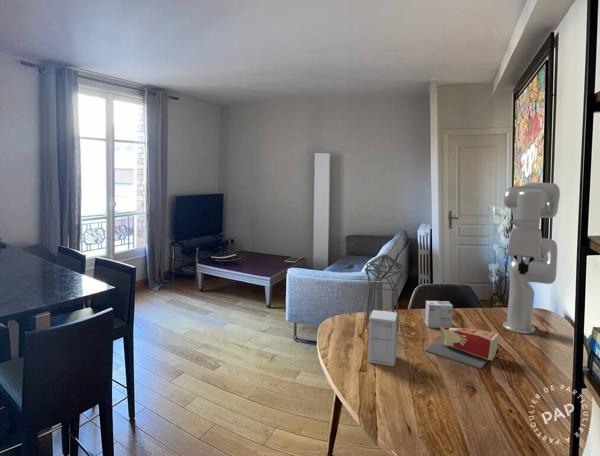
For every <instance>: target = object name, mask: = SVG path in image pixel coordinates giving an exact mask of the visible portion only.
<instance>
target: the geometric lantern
mask: <svg viewBox="0 0 600 456" xmlns="http://www.w3.org/2000/svg"><path fill="white" fill-rule="evenodd" d="M379 261H380V263H379V264H377V263H378V262H379ZM386 263H387V265H386ZM365 265H366V267H365V268H364V271H365V274H366V276H367V280H368V281H367V282H368V285H369V287H368V295H367V306H366V307H367V308H366V317H365V326H364V327H365V329H366V330H367V331H368V332H369V327H368V326H369V318H370V316H371V313H372V311H373V310H375V300H376V299H375V297H376V296H375V295H376V290H385V291H391V312H395V311H396V313H398V315H397V333H398V332H399V328H400V327H399V326H400V325H399V322H400V321H399V299H398V298H399V297H398V293H399V292H398V290H399V283H400V281H401V278H402V279H403V273H405V270H404V269H403V265H402V264H401V263H399V262H398V261H397V260H395V259H394V258H393V257H390V256H389V255H388V254H386V253H383V254H380V255H379V256H377V257H375V258H374V259H372V260H370V261H369V262H367V263H366V264H365ZM377 266H378V267H377ZM391 267H392V268H391ZM372 268H375V269H372ZM387 268H388V271H387ZM395 269H396V270H395ZM374 272H376V273H377V274H378V275H377V274H375V273H374ZM382 273H384V274H385V277H381V274H382ZM391 273H392V274H391ZM370 274H371V275H373V276H374V277H376V279H375V281H373V282H372V280H371V277H370ZM398 274H399V276H398V277H397V280H396V283H394V281H393V280H392V278H391V277H392V276H395V275H398ZM387 275H388V276H387ZM385 279H386V280H387V282H381V281H380V282H379V281H378V280H385ZM389 279H390V280H391V281H390V280H389ZM376 284H386V285H389V286H390V288H381V287H379V288H378V287H376ZM395 309H396V310H395Z"/></svg>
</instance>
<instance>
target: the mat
mask: <svg viewBox="0 0 600 456" xmlns="http://www.w3.org/2000/svg"><path fill="white" fill-rule="evenodd" d="M498 350H499V347H497V349H496V352H497V351H498ZM425 352H426V353H428V354H431V355H434V356H437V357H441V358H444V359H446V360H447V359H448V360H451V361H454V362H457V363H460V364H463V365H465V366H469V367H472V368H475V369H479V370H481V368H482V369H483V368H484V366H485V365H486V364H487V363H488V362H489V360H488V359H485V358H482V357H479V356H476V355H473V354H470V353H467V352H465V351H462V350H459V349H457V348H454V347H451V346H449V345H445V344H443V345H441V338H439V339H438V340H437V341H435V342H434V343H433V344H431V345H430V346H429V347H427V348H426V349H425Z"/></svg>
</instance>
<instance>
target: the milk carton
mask: <svg viewBox="0 0 600 456" xmlns="http://www.w3.org/2000/svg"><path fill="white" fill-rule="evenodd" d="M439 329H440V335H441V345H443V344H445V345H449V346H451V347H454V348H457V349H459V350H462V351H465V352H467V353H470V354H473V355H476V356H479V357H482V358H485V359H488V361H491V362H493V360H494V358H495V357H496V353H497V351H496V349H497V348H498V343H499V333H495V332H491V331H487V330H486V331H485V330H481V329H472V328H467V327H466V328H465V327H452V328H443V327H441V326H440V328H439Z"/></svg>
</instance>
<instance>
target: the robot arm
mask: <svg viewBox="0 0 600 456" xmlns="http://www.w3.org/2000/svg"><path fill="white" fill-rule="evenodd" d="M560 196H561V191H560V188H559V186H558V184H556V183H553V182H527V183H525V184H523V185H519V186H510V187H508V188H507V189H506V190H505V192H504V194H503V205H504V206H505V208H508V209H511V212H512V213H511V214H512V216H513V217H512V218H513V220H510V224H512V225H514V227H513V226H512V228H511V230H510V235H509V241H508V247H507V252H508V253H507V256H508V257H511V258H512V259H513V258H514V259H513V260H512V261H510V263H509V266H508V267H509V268H508V269H509V271H508V272H509V294H508V302H507V303H508V304H507V306H508V307H507V316H506V321H504V322H502V327H503V328H504V329H506V330H508V331H510V332H513V333H516V334H517V333H518V334H523V335H525V334H528V335H529V334H534V333H535V332H536V328H535V327H534V326H533V325H532V323H533V321H532V320H533V312H534V304H535V303H534V300H535V291H534V288H533V287H532V286H531V284H530V283H538V284H545V285H551V284H554V282H556V278H557V269H558V268H557V267H558V245H557V242H556V241H555V239H550V238H545V237H544V238H543V235H542V234H543V233H542V229H541V228H540V224H541V223H540V222H541V218H542V219H544V218H545V219H552V218H555V217H556V215H557V213H558V210H559V203H560Z"/></svg>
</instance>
